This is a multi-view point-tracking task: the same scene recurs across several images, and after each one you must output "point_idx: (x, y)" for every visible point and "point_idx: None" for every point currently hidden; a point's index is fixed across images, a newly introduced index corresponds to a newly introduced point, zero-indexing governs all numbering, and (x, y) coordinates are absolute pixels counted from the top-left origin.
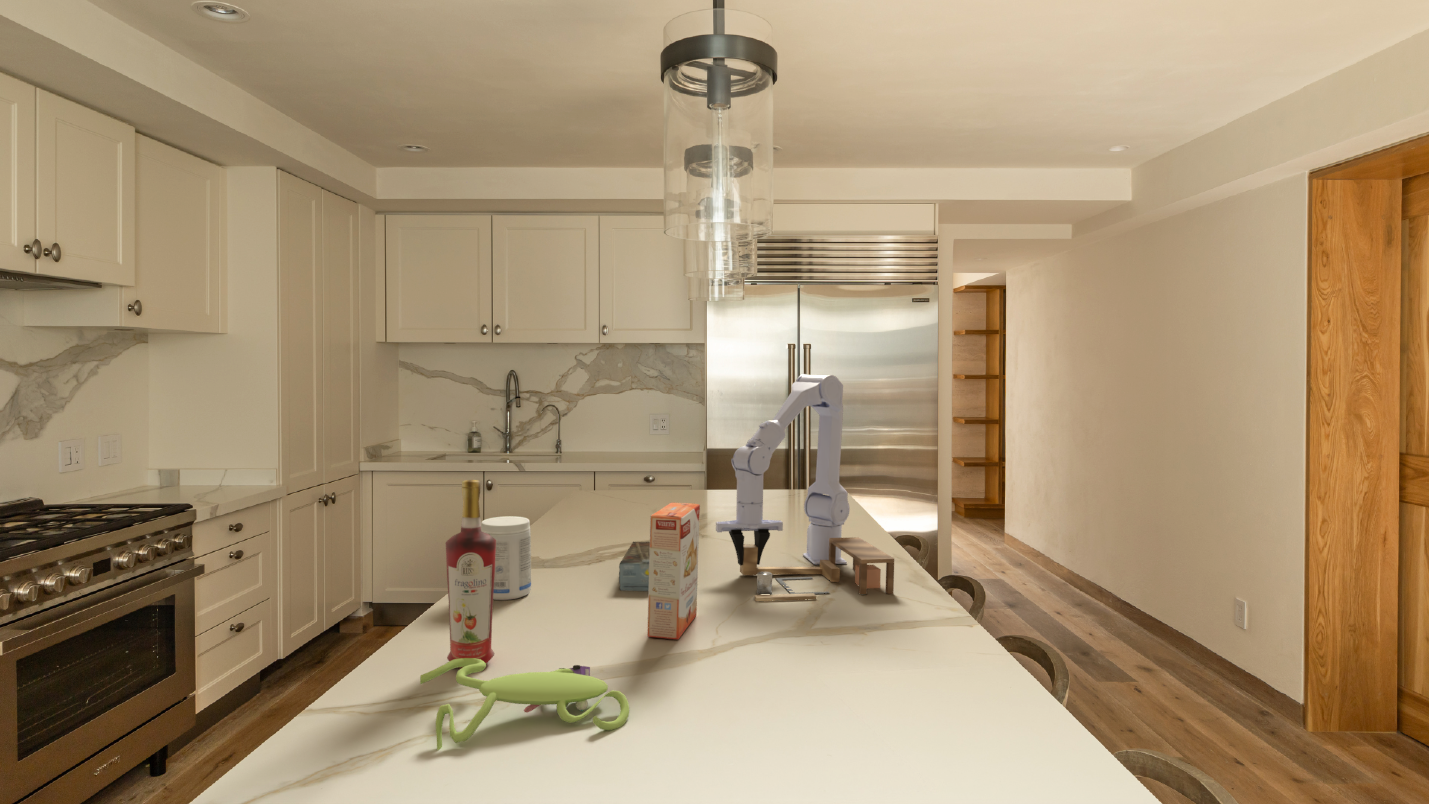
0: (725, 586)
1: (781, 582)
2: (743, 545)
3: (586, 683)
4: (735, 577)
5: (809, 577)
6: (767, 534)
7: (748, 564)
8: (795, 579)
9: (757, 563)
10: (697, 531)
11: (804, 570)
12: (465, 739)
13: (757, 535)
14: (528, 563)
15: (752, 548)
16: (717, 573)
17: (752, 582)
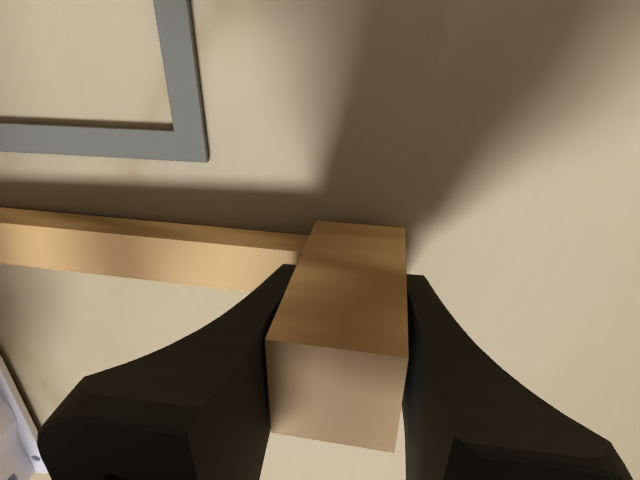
0: (620, 36)
1: (181, 51)
2: (387, 420)
3: None
4: (442, 244)
5: (5, 140)
6: (76, 410)
7: (366, 259)
8: (89, 126)
9: (294, 266)
10: None
11: (20, 220)
12: None
13: (225, 476)
14: None
15: (321, 339)
16: (513, 335)
17: (374, 114)
